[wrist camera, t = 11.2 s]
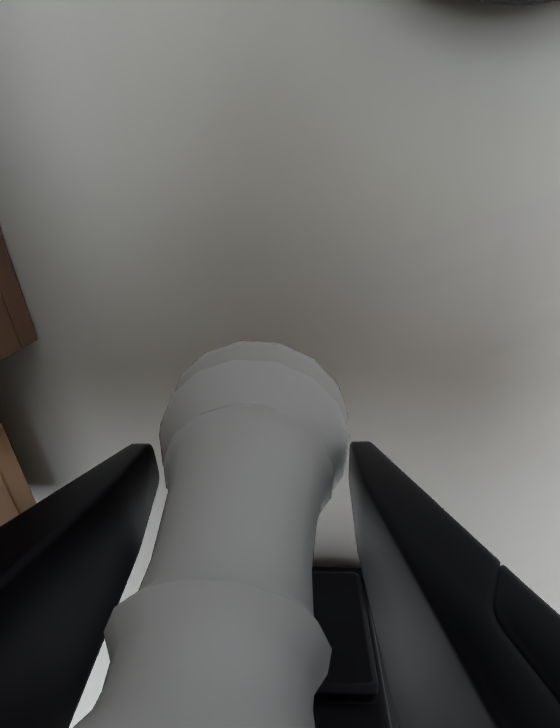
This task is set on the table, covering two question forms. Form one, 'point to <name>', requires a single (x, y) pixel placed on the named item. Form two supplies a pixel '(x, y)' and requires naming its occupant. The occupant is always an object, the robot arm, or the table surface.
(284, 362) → the rook chess piece
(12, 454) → the drawer
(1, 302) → the cabinet
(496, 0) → the smart speaker
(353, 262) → the table surface
